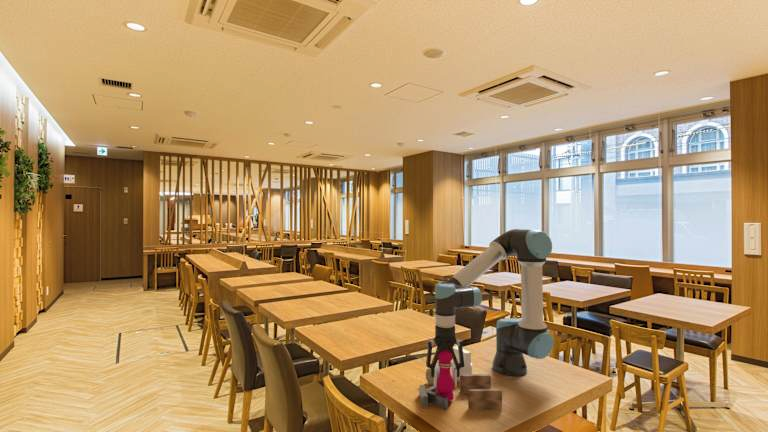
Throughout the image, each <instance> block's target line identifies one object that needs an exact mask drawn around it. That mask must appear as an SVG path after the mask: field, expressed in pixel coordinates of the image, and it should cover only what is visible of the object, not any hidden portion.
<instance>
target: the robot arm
mask: <svg viewBox="0 0 768 432" xmlns="http://www.w3.org/2000/svg"><path fill="white" fill-rule="evenodd" d="M552 243H553V242H552V240H551V237H550V236H549V235H548V234H547V233H546V231H543V230H538V229H519V228H518V229H517V228H515V229H510V230H507V231H506V232H504V233H502V234H500V235H499V236H497V237H496V238H494V239H493V240H492V241H491V242H489V245H488V247H487V248H486V249H484V250H483V251H482V252H480V254H478V255H477V256H476V257H474V258H473V259H472V260H471V261H470V262H468V263H467V264H466V265H465V266H463V268H461V269H460V270H459V271H458V272H456V273H454V274H453V276H452V277H450V278H449V279H447V280H442V281H438V283H436V284H435V287H434V299H435V300H434V303H435V305H434V306H435V307H434V308H435V309H434V310H435V311H434V312H435V314H434V316H435V320H434V321H435V323H434V324H435V326H434V327H435V329H434V330H435V331H434V338H433V339H427V340H426V342H427V353H426V361H425V365H426V368H427V369H429V368H431V376H432V377H434V387H437V369H436V367H435V366H437V363H438V362H439V360H438V355H439V353H441V351H442V350H450V352H451V353H452V356H453V359H452V361H454V363H455V366H456V367H453V378H452V379H453V381H454V385H455V388H456V387H458V386H457V385H458V381H457V377H459V370H460V368H461V367H464V357H463V349H464V348H463V347H464V341H463V340H462V339H457V338H456V326H455V325H456V310H457V309H461V308H462V309H464V308H475V307H478V306H479V305H481V304H482V301H483V294H482V291H481V290H480V288H478V287H477V286H471V285H472V284H473V283H475V282H476V281H477V280H478V279H479V278H480V277H482V276H483V275H484V274H486V273H487V272H489V270H490V269H491V268H493V266H495V265H496V264H497V263H499V262H500V261H504V260H506V259H507V258H509V257H510V256H516V261H517V262H518V263H519V265H520V283H521V284H520V286H521V287H520V288H521V290H520V292H521V293H520V295H521V296H520V297H521V303H520V305H521V318H515V317H511V318H508V317H507V318H500V319H497V321H496V327H495V337H496V338H495V339H496V343H495V344H496V351H495V354H494V358H493V360H492V369H493V371H495V372H496V373H499V374H502V375H506V376H515V377H516V376H517V377H518V376H523V375H526V374H527V373H528V366H527V362H526V359H525V355H526V356H528V357H530V358H532V359H536V360H543V359H546V358H547V357H548V356H549V355H550V354H551V352H552V350H553V347H554V337H553V336H552V334H551V333H549V332H548V325H547V324H546V322H544V304H543V303H544V300H543V299H544V298H543V294H544V293H543V292H544V290H543V265H544V264H545V263H546V262H547V258H548V257H550V255H551V253H552V251H553V244H552ZM434 344H435V345H436V346H437V347H436V349H435V353H434V355H433V358H432V354H433V353H432V351H433V347H434ZM455 344H456V346H458V351H459V360H460V363H458V361H457V358H456V356H455V353H454V350H453V347H455ZM462 348H463V349H462Z"/></svg>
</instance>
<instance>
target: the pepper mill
mask: <svg viewBox="0 0 768 432" xmlns="http://www.w3.org/2000/svg"><path fill="white" fill-rule="evenodd" d="M452 361H453V356H452V353H451V352H450V350H442V351H441V353H439V355H438V361H437V363H438V366H439V367H440V373H439V376H438V378H437V387H436V389H437V390H438V392H437V393H438V394H440V395H443V396H446V397H448V402H450V401H453V400H454V398H455V397H454V391H455V389H456V387H455V385H454V381H453V378H452V377H451V366H452V365H451V364H452V363H451V362H452Z"/></svg>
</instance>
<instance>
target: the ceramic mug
mask: <svg viewBox="0 0 768 432" xmlns="http://www.w3.org/2000/svg"><path fill="white" fill-rule="evenodd" d="M435 367H436V369H437V378H438V376H439V373H440V367H439V366H438V365H437V364H436V366H435ZM425 379H426V381H427V383H428V384H429V385H430V387H431V386H433V385H434V377H432V376H431V368H427V369H426V370H425Z"/></svg>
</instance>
